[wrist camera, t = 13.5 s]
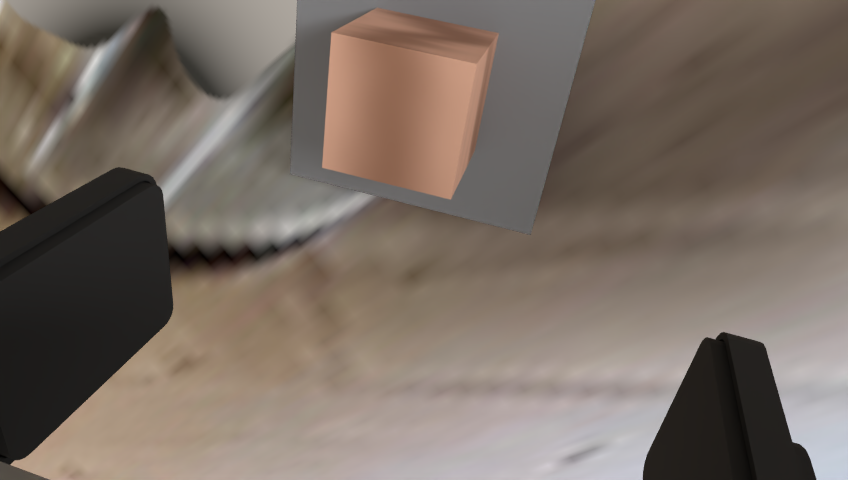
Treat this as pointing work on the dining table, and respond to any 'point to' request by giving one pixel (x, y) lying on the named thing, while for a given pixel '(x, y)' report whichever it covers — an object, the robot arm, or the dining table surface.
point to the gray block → (503, 109)
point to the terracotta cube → (406, 99)
